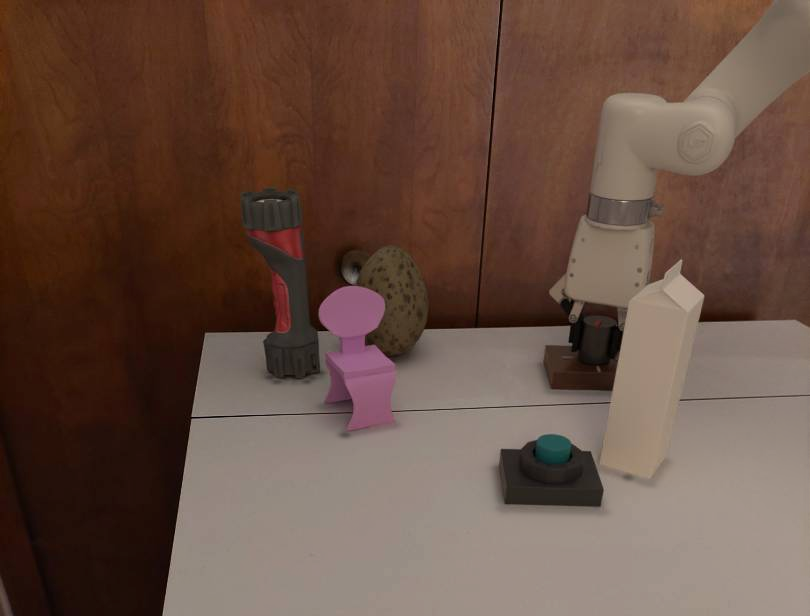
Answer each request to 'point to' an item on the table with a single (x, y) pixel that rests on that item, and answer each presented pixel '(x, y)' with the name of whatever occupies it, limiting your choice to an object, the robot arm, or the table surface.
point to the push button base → (549, 478)
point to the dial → (596, 339)
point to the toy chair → (358, 356)
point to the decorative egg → (395, 299)
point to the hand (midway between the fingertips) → (594, 350)
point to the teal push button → (553, 449)
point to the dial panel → (577, 370)
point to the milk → (651, 373)
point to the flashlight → (283, 278)
